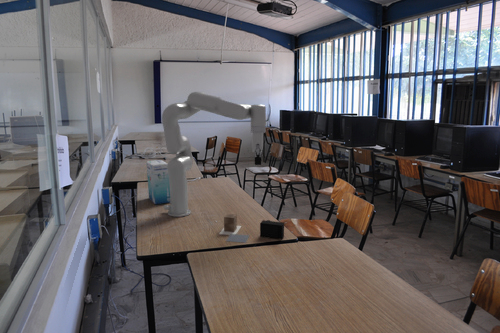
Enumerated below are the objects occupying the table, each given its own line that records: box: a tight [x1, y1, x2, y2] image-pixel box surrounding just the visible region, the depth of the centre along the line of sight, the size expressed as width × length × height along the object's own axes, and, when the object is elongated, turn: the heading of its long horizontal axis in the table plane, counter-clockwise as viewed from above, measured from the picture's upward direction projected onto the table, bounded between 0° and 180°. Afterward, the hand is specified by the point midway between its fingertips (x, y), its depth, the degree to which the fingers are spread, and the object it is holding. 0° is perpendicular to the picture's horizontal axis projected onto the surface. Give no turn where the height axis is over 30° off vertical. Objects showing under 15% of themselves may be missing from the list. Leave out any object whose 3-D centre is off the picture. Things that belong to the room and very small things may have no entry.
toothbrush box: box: [145, 159, 170, 206], centre depth 231 cm, size 18×10×24 cm, turn 27°
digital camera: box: [259, 219, 285, 241], centre depth 173 cm, size 10×5×7 cm, turn 71°
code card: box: [218, 225, 242, 236], centre depth 182 cm, size 8×13×1 cm, turn 169°
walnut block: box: [223, 213, 238, 232], centre depth 181 cm, size 5×5×7 cm
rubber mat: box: [225, 234, 250, 244], centre depth 171 cm, size 9×9×1 cm
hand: (258, 163), depth 192 cm, fingers open, 9 cm apart
